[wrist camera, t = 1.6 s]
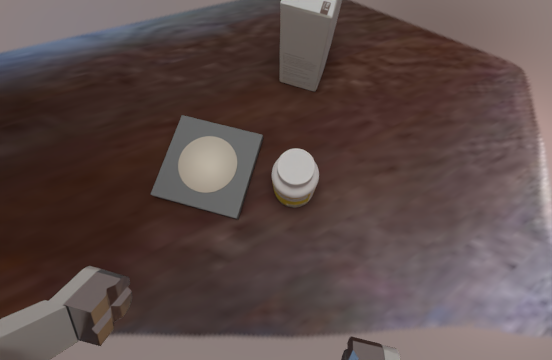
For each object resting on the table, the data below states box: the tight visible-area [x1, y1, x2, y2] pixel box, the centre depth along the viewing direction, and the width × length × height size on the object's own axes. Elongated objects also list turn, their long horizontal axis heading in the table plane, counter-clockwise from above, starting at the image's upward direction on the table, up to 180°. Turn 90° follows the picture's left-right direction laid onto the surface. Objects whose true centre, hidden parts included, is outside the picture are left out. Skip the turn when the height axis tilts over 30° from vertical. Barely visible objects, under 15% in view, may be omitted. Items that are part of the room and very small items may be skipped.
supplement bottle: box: [272, 149, 319, 208], centre depth 35 cm, size 5×5×10 cm
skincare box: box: [280, 0, 342, 92], centre depth 37 cm, size 8×6×15 cm
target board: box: [151, 115, 263, 219], centre depth 40 cm, size 12×12×1 cm
